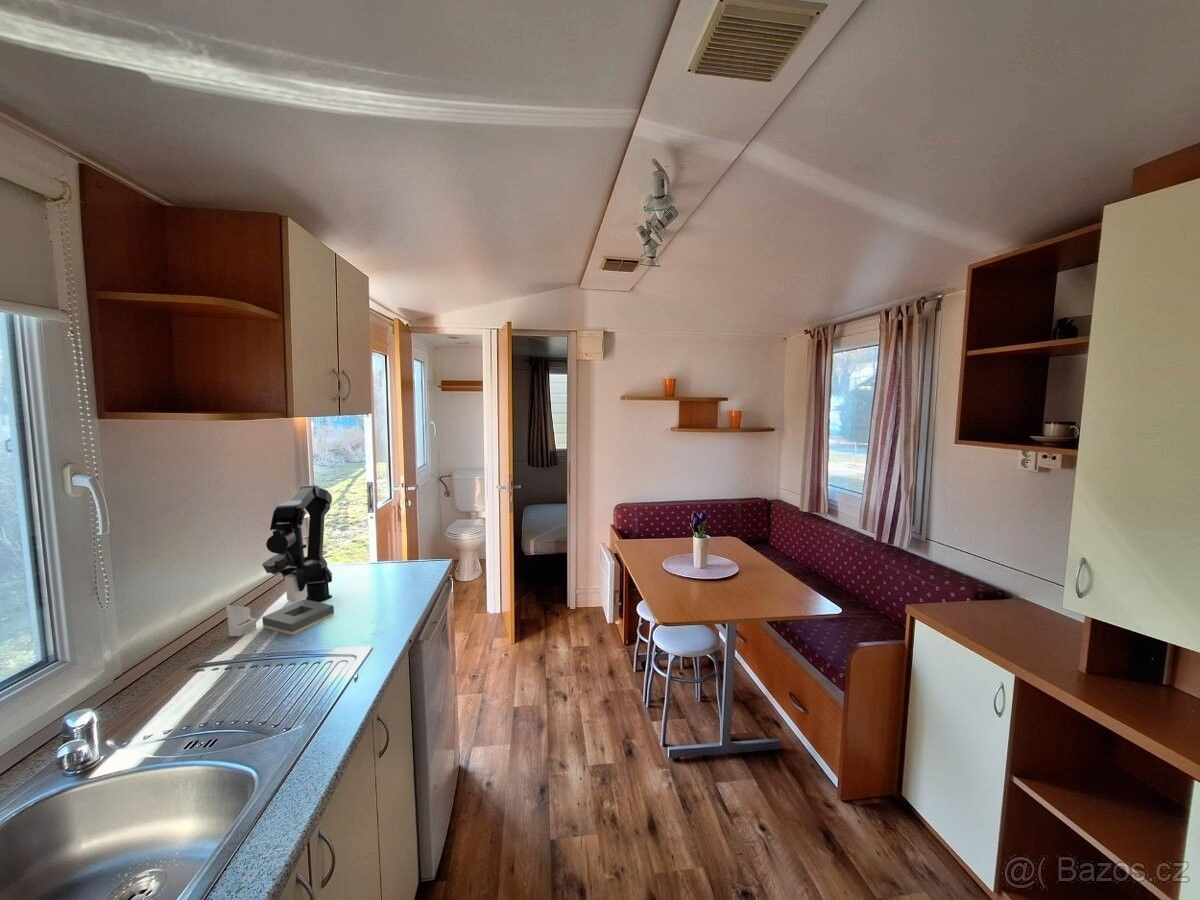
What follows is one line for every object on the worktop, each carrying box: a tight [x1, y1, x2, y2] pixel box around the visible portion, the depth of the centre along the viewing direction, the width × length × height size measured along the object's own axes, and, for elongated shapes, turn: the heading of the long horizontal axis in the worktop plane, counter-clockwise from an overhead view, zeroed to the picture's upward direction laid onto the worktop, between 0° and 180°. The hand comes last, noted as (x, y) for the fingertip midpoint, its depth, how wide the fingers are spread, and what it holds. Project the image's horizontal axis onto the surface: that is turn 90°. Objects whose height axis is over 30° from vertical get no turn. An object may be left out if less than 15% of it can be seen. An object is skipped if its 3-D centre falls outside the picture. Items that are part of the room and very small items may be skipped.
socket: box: [261, 598, 335, 636], centre depth 152 cm, size 14×14×4 cm
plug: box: [284, 571, 308, 603], centre depth 151 cm, size 4×4×9 cm
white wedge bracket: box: [225, 604, 257, 637], centre depth 145 cm, size 4×10×9 cm, turn 168°
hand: (296, 590), depth 151 cm, fingers closed on plug, 4 cm apart
